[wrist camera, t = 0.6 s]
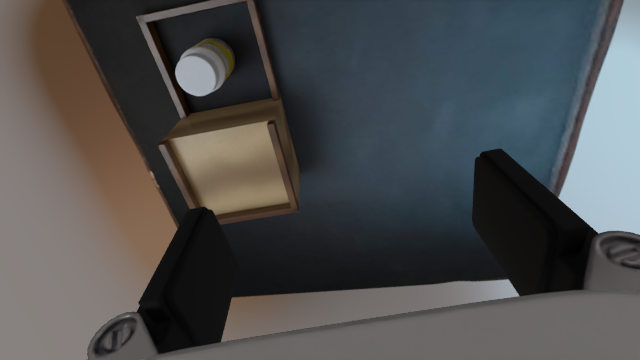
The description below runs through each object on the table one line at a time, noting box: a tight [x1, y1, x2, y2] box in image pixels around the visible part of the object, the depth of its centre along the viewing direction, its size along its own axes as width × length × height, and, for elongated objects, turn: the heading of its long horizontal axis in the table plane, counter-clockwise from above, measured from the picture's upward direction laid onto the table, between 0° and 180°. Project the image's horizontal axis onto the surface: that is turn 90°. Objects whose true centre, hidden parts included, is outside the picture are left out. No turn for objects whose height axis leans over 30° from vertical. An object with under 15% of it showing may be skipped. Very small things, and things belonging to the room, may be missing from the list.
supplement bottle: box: [175, 38, 235, 96], centre depth 35 cm, size 5×5×8 cm
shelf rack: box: [136, 0, 300, 225], centre depth 38 cm, size 24×13×9 cm, turn 11°
